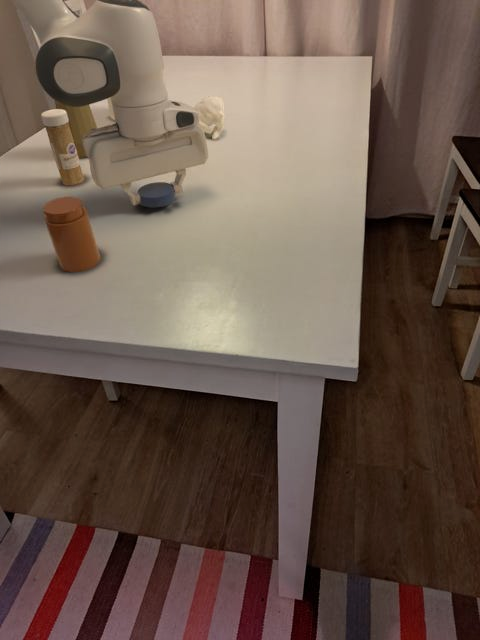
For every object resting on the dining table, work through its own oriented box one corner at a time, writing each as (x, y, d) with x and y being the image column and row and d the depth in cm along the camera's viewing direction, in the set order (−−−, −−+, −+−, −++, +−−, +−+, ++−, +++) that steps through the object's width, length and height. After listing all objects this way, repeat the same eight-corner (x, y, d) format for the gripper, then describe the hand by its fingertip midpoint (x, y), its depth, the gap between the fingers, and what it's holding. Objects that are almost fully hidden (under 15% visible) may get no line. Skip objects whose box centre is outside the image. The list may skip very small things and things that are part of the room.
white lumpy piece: (222, 99, 102) (169, 107, 103) (228, 138, 108) (178, 145, 109) (223, 91, 107) (172, 99, 108) (228, 128, 112) (180, 136, 113)
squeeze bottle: (73, 147, 108) (49, 61, 97) (107, 146, 108) (87, 59, 96) (62, 161, 102) (34, 71, 91) (97, 160, 102) (75, 69, 90)
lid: (176, 205, 81) (174, 195, 80) (138, 209, 81) (136, 199, 80) (175, 189, 86) (173, 180, 85) (139, 193, 86) (138, 184, 85)
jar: (52, 264, 71) (31, 208, 65) (83, 247, 75) (66, 191, 68) (77, 277, 68) (57, 219, 62) (108, 258, 72) (92, 201, 66)
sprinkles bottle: (78, 187, 92) (58, 116, 83) (57, 185, 93) (35, 115, 84) (88, 177, 95) (70, 108, 86) (68, 176, 96) (48, 107, 87)
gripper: (83, 137, 69) (105, 220, 78) (208, 111, 76) (215, 190, 85) (74, 125, 73) (96, 205, 82) (192, 101, 80) (200, 178, 89)
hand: (157, 197), depth 84 cm, fingers closed on lid, 6 cm apart
